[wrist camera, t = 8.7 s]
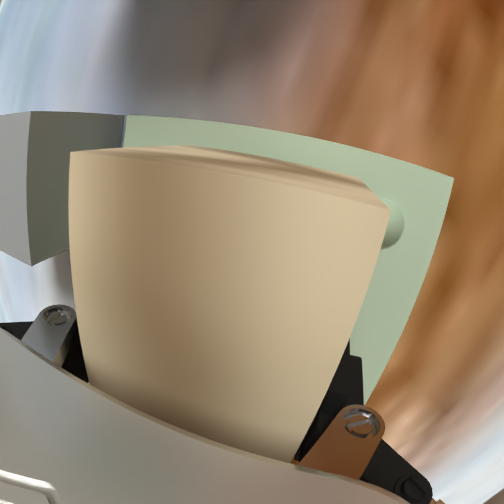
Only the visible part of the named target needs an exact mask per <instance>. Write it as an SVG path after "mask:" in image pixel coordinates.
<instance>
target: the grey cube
mask: <svg viewBox="0 0 504 504" xmlns="http://www.w3.org/2000/svg"><path fill="white" fill-rule="evenodd" d="M123 120H124V115H112V114H99V113H82V112H52V111H30V112H22V113H14V114H7V115H0V250H1V251H3V252H5V253H7V254H8V255H10V256H12V257H14V258H16V259H18V260H20V261H22V262H24V263H26V264H28V265H30V266H33V265H35V264H37V263H39V262H41V261H43V260H46V259H48V258H50V257H52V256H54V255H56V254H59V253H61V252H63V251H65V250H67V249H70V245H69V210H68V202H69V167H70V152H75V151H85V150H96V149H108V148H120V144H121V135H122V127H123Z"/></svg>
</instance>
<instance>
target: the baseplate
mask: <svg viewBox="0 0 504 504" xmlns="http://www.w3.org/2000/svg"><path fill="white" fill-rule="evenodd" d="M175 145H193V146H201V147H208V148H215V149H221V150H228V151H234V152H240V153H246V154H251V155H257V156H263V157H268V158H273V159H278V160H283V161H288V162H293V163H298V164H303V165H307V166H312V167H316V168H321V169H325V170H329V171H333V172H338V173H342V174H346V175H350V176H354V177H358V178H359V179H360V180H361V181H362V182H363V183H364V184H365V185H366V186H367V187H368V188H369V189H370V190H371V191H372V192H373V193H374V194H375V195H376V196H377V197H378V198H379V199H380V200H381V201H382V202H383V203H384V204H385V205H386V206H387V207H388V208H389V209H390V210H391V214H390V217H389V221H388V225H387V228H386V232H385V235H384V239H383V242H382V246H381V249H380V252H379V256H378V259H377V262H376V265H375V268H374V271H373V274H372V278H371V281H370V284H369V286H368V289H367V292H366V295H365V298H364V301H363V304H362V306H361V309H360V312H359V315H358V317H357V320H356V323H355V325H354V328H353V331H352V333H351V336H350V355H354V356H358V357H361V358H362V371H363V394H364V405H365V404H366V402H367V400H368V398H369V397H370V395H371V393H372V391H373V389H374V388H375V386H376V384H377V382H378V380H379V378H380V376H381V375H382V373H383V371H384V369H385V367H386V365H387V363H388V361H389V359H390V357H391V355H392V353H393V351H394V349H395V347H396V345H397V342H398V340H399V338H400V336H401V334H402V332H403V329H404V327H405V325H406V323H407V320H408V318H409V316H410V313H411V311H412V309H413V306H414V304H415V301H416V299H417V296H418V294H419V291H420V289H421V286H422V283H423V281H424V278H425V275H426V273H427V270H428V267H429V264H430V261H431V258H432V255H433V252H434V249H435V246H436V243H437V240H438V237H439V233H440V230H441V227H442V223H443V220H444V216H445V213H446V209H447V205H448V201H449V197H450V193H451V189H452V185H453V181H454V178H452V177H450V176H447V175H444V174H441V173H438V172H436V171H433V170H430V169H427V168H424V167H421V166H418V165H415V164H411V163H408V162H405V161H402V160H398V159H395V158H392V157H388V156H385V155H381V154H378V153H374V152H370V151H367V150H363V149H359V148H355V147H351V146H347V145H343V144H339V143H335V142H330V141H326V140H321V139H317V138H312V137H307V136H302V135H297V134H292V133H287V132H281V131H276V130H270V129H264V128H258V127H251V126H244V125H237V124H230V123H222V122H214V121H205V120H195V119H184V118H172V117H157V116H138V115H127V121H126V128H125V136H124V144H123V147H142V146H175Z"/></svg>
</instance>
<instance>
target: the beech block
mask: <svg viewBox="0 0 504 504" xmlns="http://www.w3.org/2000/svg"><path fill="white" fill-rule="evenodd" d="M68 210H69V245H70V261H71V274H72V284H73V293H74V302H75V309H76V316H77V323H78V329H79V335H80V341H81V346H82V352H83V357H84V362H85V366H86V371H87V375H88V380H89V384H90V385H91V386H93V387H95V388H97V389H99V390H100V391H102V392H104V393H106V394H108V395H110V396H112V397H114V398H115V399H117V400H119V401H121V402H123V403H125V404H127V405H129V406H131V407H133V408H136V409H138V410H140V411H142V412H144V413H146V414H148V415H150V416H153V417H155V418H157V419H159V420H162V421H164V422H166V423H169V424H171V425H174V426H176V427H178V428H181V429H183V430H186V431H188V432H191V433H194V434H196V435H199V436H202V437H204V438H207V439H210V440H213V441H216V442H218V443H221V444H224V445H227V446H230V447H234V448H237V449H240V450H243V451H247V452H250V453H253V454H257V455H260V456H264V457H267V458H271V459H275V460H279V461H282V462H286V463H291V461H292V459H293V457H294V455H295V454H296V452H297V450H298V448H299V446H300V444H301V442H302V441H303V439H304V437H305V435H306V433H307V431H308V429H309V427H310V425H311V423H312V421H313V419H314V417H315V415H316V413H317V411H318V409H319V407H320V405H321V403H322V401H323V398H324V396H325V394H326V392H327V390H328V388H329V385H330V383H331V381H332V379H333V376H334V374H335V372H336V370H337V367H338V365H339V363H340V360H341V358H342V355H343V353H344V351H345V348H346V346H347V343H348V341H349V338H350V336H351V333H352V331H353V328H354V325H355V323H356V320H357V317H358V315H359V312H360V309H361V306H362V304H363V301H364V298H365V295H366V292H367V289H368V286H369V284H370V281H371V278H372V274H373V271H374V268H375V265H376V262H377V259H378V256H379V252H380V249H381V246H382V242H383V239H384V235H385V232H386V228H387V225H388V221H389V217H390V214H391V210H390V209H389V208H388V207H387V206H386V205H385V204H384V203H383V202H382V201H381V200H380V199H379V198H378V197H377V196H376V195H375V194H374V193H373V192H372V191H371V190H370V189H369V188H368V187H367V186H366V185H365V184H364V183H363V182H362V181H361V180H360V179H359V178H358V177H354V176H350V175H346V174H342V173H338V172H333V171H329V170H325V169H321V168H316V167H312V166H307V165H303V164H298V163H293V162H288V161H283V160H278V159H273V158H268V157H263V156H257V155H251V154H246V153H240V152H234V151H228V150H221V149H215V148H208V147H201V146H193V145H175V146H142V147H123V148H108V149H96V150H85V151H75V152H70V167H69V202H68Z"/></svg>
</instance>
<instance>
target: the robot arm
mask: <svg viewBox="0 0 504 504" xmlns="http://www.w3.org/2000/svg"><path fill="white" fill-rule="evenodd" d="M88 383H89V380H88V375H87V371H86V366H85V362H84V357H83V352H82V346H81V341H80V335H79V329H78V323H77V316H76V312H75V310H74V309H73V308H71V307H69V306H66V305H53V306H49V307H47V308H45V309H43V310H42V311H41V312H40V313H39V315H38V316H37V318H36V319H35V321H33V322H12V323H0V504H445V503H444V502H443V501H441V500H440V499H439V500H438V501H437V502H436V501H435V500H434V499H433V498H432V496H433V493H432V487H431V485H430V483H429V482H428V480H427V479H426V478H425V477H424V476H423V475H421V474H420V473H419V472H418V471H417V470H416V469H415V468H413V467H412V466H411V465H410V464H409V463H408V462H407V461H406V460H405V459H403V458H402V457H401V456H400V455H399V454H398V453H397V452H396V451H395V450H393V449H392V448H391V447H390V446H389V445H388V444H387V443H386V442H385V441H384V440H383V439H381V438H382V436H383V434H384V431H385V423H384V421H383V419H382V417H381V416H380V415H379V414H378V413H377V412H376V411H375V410H373V409H371V408H369V407H367V406H364V394H363V371H362V358H361V357H358V356H354V355H350V338H349V341H348V343H347V346H346V348H345V351H344V353H343V355H342V358H341V360H340V363H339V365H338V367H337V370H336V372H335V374H334V376H333V379H332V381H331V383H330V385H329V388H328V390H327V392H326V394H325V396H324V398H323V401H322V403H321V405H320V407H319V409H318V411H317V413H316V415H315V417H314V419H313V421H312V423H311V425H310V427H309V429H308V431H307V433H306V435H305V437H304V439H303V441H302V442H301V444H300V446H299V448H298V450H297V452H296V454H295V458H294V460H298V461H299V462H300V463H299V464H298V465H294V464H290V463H286V462H282V461H279V460H275V459H271V458H267V457H264V456H260V455H257V454H253V453H250V452H247V451H243V450H240V449H237V448H234V447H230V446H227V445H224V444H221V443H218V442H216V441H213V440H210V439H207V438H204V437H202V436H199V435H196V434H194V433H191V432H188V431H186V430H183V429H181V428H178V427H176V426H174V425H171V424H169V423H166V422H164V421H162V420H159V419H157V418H155V417H153V416H150V415H148V414H146V413H144V412H142V411H140V410H138V409H136V408H133V407H131V406H129V405H127V404H125V403H123V402H121V401H119V400H117V399H115V398H114V397H112V396H110V395H108V394H106V393H104V392H102V391H100V390H99V389H97V388H95V387H93V386H91V385H90V384H88Z"/></svg>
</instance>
